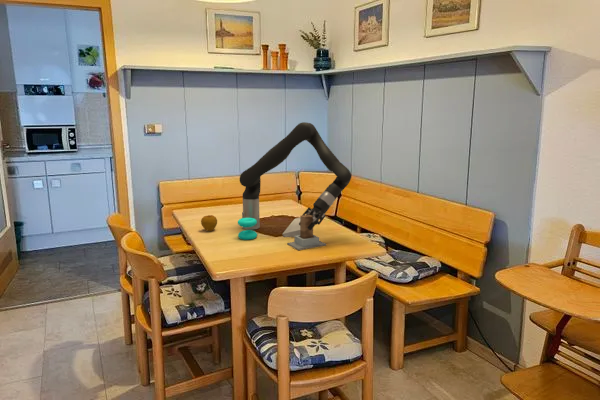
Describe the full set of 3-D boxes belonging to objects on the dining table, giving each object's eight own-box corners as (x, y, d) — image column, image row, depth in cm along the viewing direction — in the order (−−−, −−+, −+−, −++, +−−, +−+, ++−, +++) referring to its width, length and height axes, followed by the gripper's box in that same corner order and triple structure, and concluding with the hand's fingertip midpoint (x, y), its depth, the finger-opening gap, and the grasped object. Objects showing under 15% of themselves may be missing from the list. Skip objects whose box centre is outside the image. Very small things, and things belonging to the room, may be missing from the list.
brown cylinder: (304, 245, 225) (304, 217, 223) (300, 243, 229) (300, 215, 226) (313, 243, 228) (313, 216, 225) (308, 241, 231) (309, 214, 228)
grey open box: (298, 250, 220) (298, 241, 219) (287, 244, 229) (287, 236, 228) (326, 245, 228) (326, 237, 227) (314, 240, 237) (314, 231, 236)
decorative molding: (284, 242, 243) (302, 238, 241) (282, 233, 243) (300, 229, 240) (296, 226, 276) (312, 222, 274) (294, 218, 276) (310, 214, 273)
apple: (209, 227, 261) (209, 212, 259) (221, 230, 256) (220, 214, 254) (198, 231, 254) (197, 215, 252) (209, 233, 249) (208, 217, 247)
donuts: (243, 216, 245) (260, 217, 242) (243, 234, 247) (260, 236, 244) (234, 220, 236) (251, 222, 233) (234, 239, 238) (252, 241, 235)
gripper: (312, 195, 233) (292, 219, 230) (327, 200, 221) (307, 225, 218) (321, 204, 237) (301, 228, 234) (336, 209, 225) (316, 235, 222)
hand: (304, 227), depth 226 cm, fingers open, 8 cm apart
